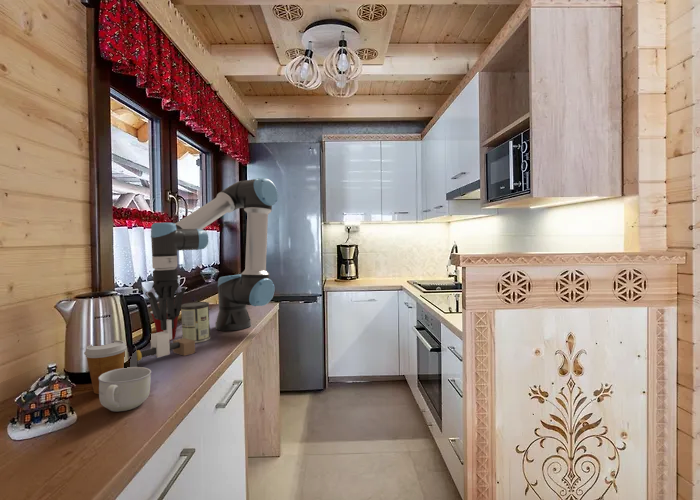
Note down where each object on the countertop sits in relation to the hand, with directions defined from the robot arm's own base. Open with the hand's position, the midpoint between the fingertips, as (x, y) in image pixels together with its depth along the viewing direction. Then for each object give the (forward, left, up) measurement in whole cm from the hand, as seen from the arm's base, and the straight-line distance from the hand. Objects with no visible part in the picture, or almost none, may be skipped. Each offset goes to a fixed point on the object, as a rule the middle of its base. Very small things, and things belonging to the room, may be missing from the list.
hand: (168, 338), depth 127 cm
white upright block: (+3, 0, -5) cm, 5 cm away
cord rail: (+3, 0, -6) cm, 7 cm away
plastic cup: (-12, -23, -6) cm, 27 cm away
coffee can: (-18, -12, -6) cm, 22 cm away
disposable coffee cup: (+23, +13, -6) cm, 28 cm away
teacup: (+26, +29, -6) cm, 40 cm away
